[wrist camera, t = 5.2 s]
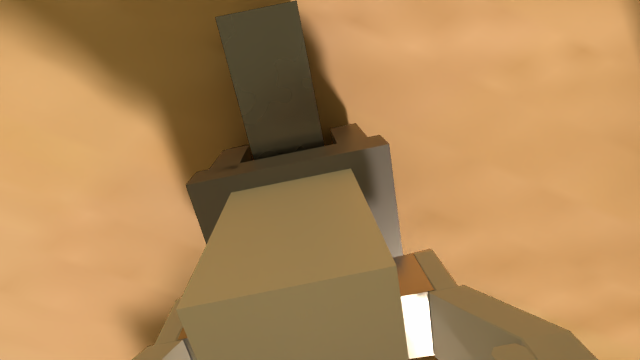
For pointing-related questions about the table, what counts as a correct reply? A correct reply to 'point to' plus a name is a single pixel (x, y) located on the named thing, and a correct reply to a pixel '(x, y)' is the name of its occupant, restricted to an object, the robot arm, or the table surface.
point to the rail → (272, 79)
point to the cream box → (297, 255)
